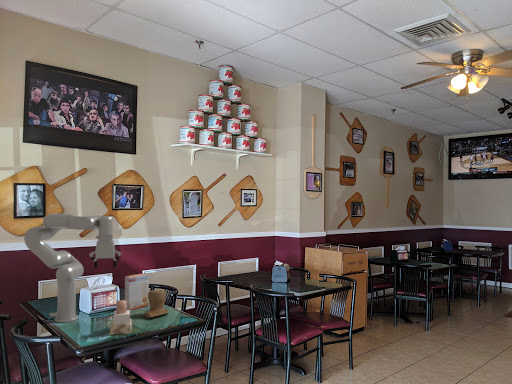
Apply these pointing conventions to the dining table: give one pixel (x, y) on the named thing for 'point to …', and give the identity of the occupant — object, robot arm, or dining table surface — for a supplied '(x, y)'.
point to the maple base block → (120, 328)
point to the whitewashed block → (122, 318)
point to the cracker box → (137, 291)
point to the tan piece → (156, 303)
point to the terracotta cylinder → (121, 306)
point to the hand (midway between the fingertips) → (105, 267)
